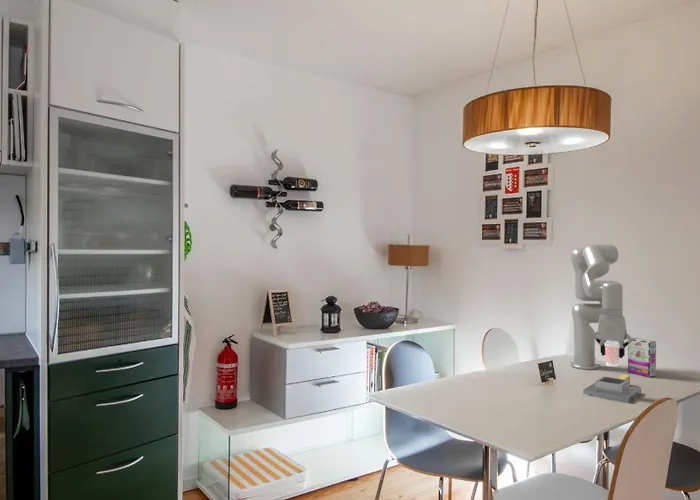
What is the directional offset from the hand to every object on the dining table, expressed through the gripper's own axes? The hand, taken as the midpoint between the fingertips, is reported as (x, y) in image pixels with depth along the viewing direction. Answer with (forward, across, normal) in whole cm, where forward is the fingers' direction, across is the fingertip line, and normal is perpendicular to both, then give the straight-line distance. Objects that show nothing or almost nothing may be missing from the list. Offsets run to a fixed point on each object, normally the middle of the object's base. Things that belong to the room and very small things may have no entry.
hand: (612, 355), depth 212 cm
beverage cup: (+4, 0, 0) cm, 4 cm away
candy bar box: (+16, 0, +42) cm, 45 cm away
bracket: (+16, 0, +12) cm, 20 cm away
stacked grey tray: (+16, 0, 0) cm, 16 cm away
